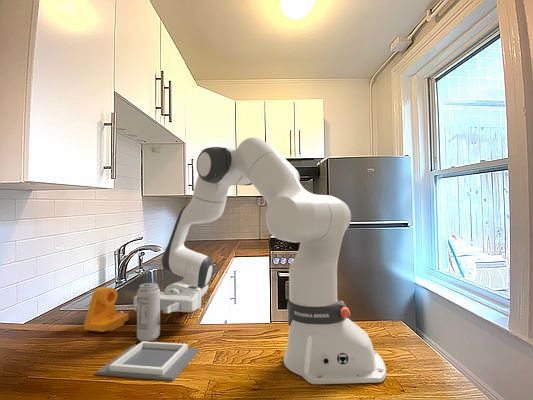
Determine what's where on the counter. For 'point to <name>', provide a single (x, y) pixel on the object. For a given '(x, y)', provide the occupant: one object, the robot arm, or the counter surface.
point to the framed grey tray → (150, 361)
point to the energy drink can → (148, 312)
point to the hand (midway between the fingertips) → (150, 309)
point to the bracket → (104, 311)
